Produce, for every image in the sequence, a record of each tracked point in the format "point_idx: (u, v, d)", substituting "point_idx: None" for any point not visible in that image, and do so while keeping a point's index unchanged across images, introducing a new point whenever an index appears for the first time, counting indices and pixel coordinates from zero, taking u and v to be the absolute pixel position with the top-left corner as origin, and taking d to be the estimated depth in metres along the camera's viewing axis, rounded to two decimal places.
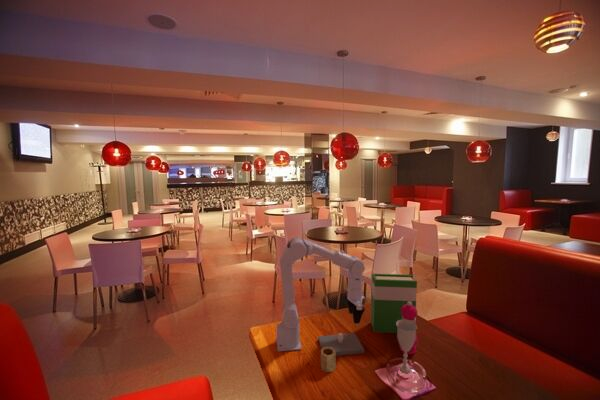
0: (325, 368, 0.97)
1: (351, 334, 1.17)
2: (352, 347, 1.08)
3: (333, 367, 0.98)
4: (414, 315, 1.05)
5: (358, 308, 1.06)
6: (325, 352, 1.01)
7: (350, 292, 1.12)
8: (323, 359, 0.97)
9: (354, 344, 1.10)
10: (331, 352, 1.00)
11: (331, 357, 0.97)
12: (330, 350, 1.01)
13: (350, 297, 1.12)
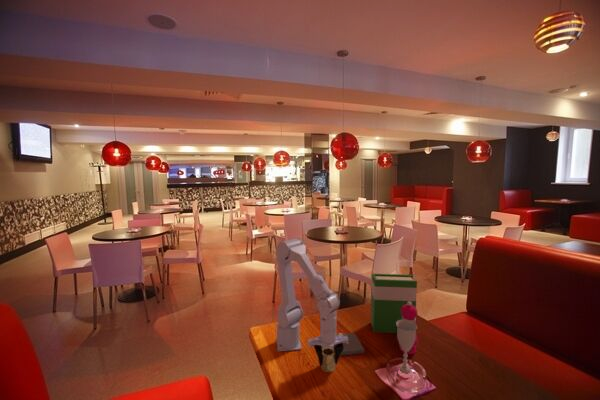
0: (325, 368, 0.97)
1: (351, 334, 1.17)
2: (352, 347, 1.08)
3: (333, 367, 0.98)
4: (414, 315, 1.05)
5: (308, 343, 0.98)
6: (325, 352, 1.01)
7: None
8: (323, 359, 0.97)
9: (354, 344, 1.10)
10: (331, 352, 1.00)
11: (331, 357, 0.97)
12: (330, 350, 1.01)
13: None
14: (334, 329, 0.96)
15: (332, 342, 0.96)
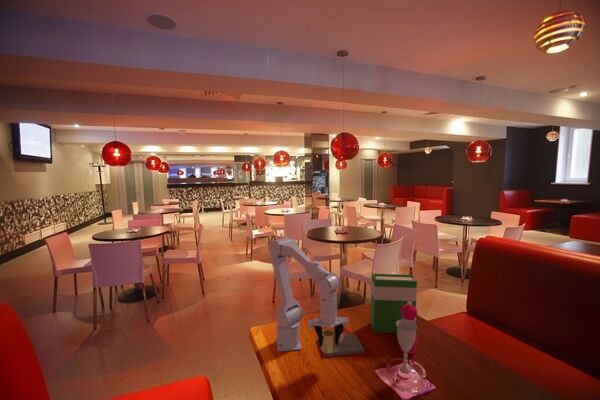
0: (325, 349, 0.97)
1: (351, 334, 1.17)
2: (352, 347, 1.08)
3: (333, 348, 0.97)
4: (414, 315, 1.05)
5: (308, 324, 0.97)
6: (325, 334, 1.00)
7: None
8: (323, 340, 0.97)
9: (354, 344, 1.10)
10: (331, 334, 1.00)
11: (331, 338, 0.96)
12: (330, 332, 1.00)
13: None
14: (334, 310, 0.95)
15: (332, 323, 0.95)
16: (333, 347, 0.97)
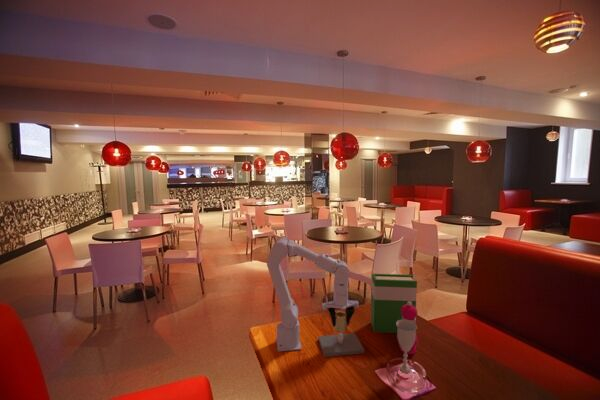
0: (338, 329, 1.08)
1: (351, 334, 1.17)
2: (352, 347, 1.08)
3: (345, 328, 1.09)
4: (414, 315, 1.05)
5: (322, 306, 1.09)
6: (338, 315, 1.12)
7: None
8: (336, 320, 1.08)
9: (354, 344, 1.10)
10: (343, 315, 1.11)
11: (343, 318, 1.08)
12: (342, 313, 1.11)
13: None
14: None
15: (344, 305, 1.07)
16: (345, 327, 1.08)
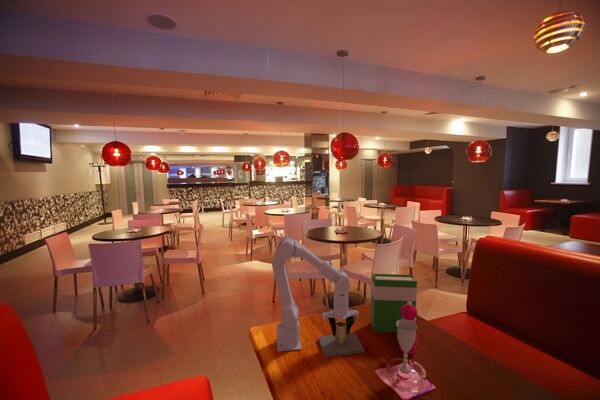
0: (338, 338, 1.09)
1: (351, 334, 1.17)
2: (352, 347, 1.08)
3: (345, 337, 1.09)
4: (414, 315, 1.05)
5: (323, 316, 1.10)
6: (338, 325, 1.12)
7: None
8: (336, 330, 1.09)
9: (354, 344, 1.10)
10: (343, 325, 1.12)
11: (344, 328, 1.08)
12: (342, 323, 1.12)
13: None
14: None
15: (344, 315, 1.08)
16: (345, 336, 1.09)
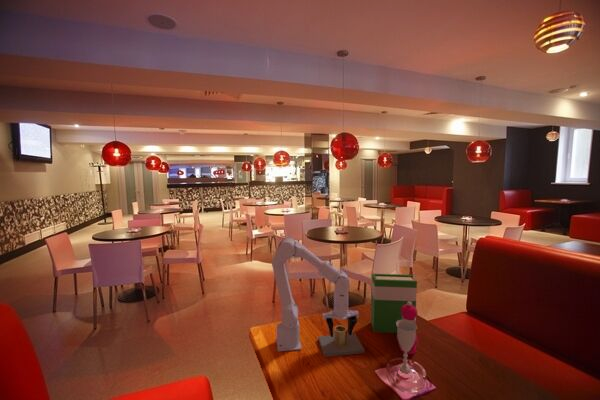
0: (338, 343, 1.09)
1: (351, 334, 1.17)
2: (352, 347, 1.08)
3: (345, 342, 1.10)
4: (414, 315, 1.05)
5: (323, 316, 1.10)
6: (338, 329, 1.13)
7: None
8: (336, 335, 1.09)
9: (354, 344, 1.10)
10: (343, 329, 1.12)
11: (343, 333, 1.09)
12: (342, 328, 1.12)
13: None
14: None
15: (344, 315, 1.08)
16: (345, 341, 1.09)
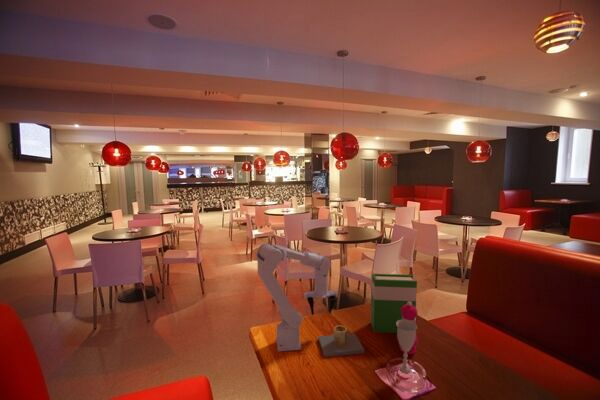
0: (338, 343, 1.09)
1: (351, 334, 1.17)
2: (352, 347, 1.08)
3: (345, 342, 1.10)
4: (414, 315, 1.05)
5: (304, 296, 1.18)
6: (338, 329, 1.13)
7: None
8: (336, 335, 1.09)
9: (354, 344, 1.10)
10: (343, 329, 1.12)
11: (343, 333, 1.09)
12: (342, 328, 1.12)
13: None
14: None
15: (324, 294, 1.16)
16: (345, 341, 1.09)
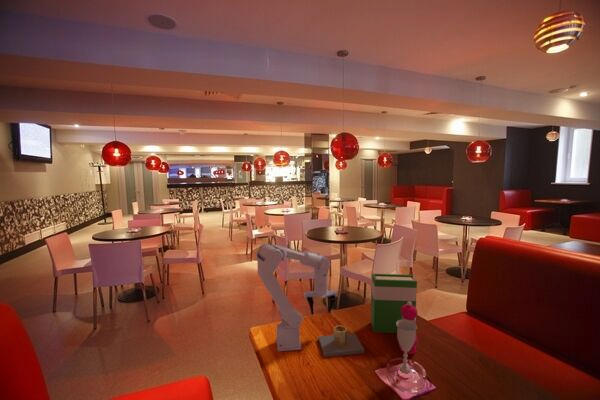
0: (338, 343, 1.09)
1: (351, 334, 1.17)
2: (352, 347, 1.08)
3: (345, 342, 1.10)
4: (414, 315, 1.05)
5: (304, 296, 1.18)
6: (338, 329, 1.13)
7: None
8: (336, 335, 1.09)
9: (354, 344, 1.10)
10: (343, 329, 1.12)
11: (343, 333, 1.09)
12: (342, 328, 1.12)
13: None
14: None
15: (324, 294, 1.16)
16: (345, 341, 1.09)
